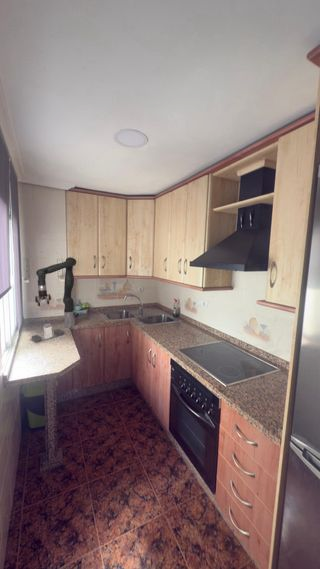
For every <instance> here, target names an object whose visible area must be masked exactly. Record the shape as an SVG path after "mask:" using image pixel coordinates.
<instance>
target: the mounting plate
mask: <svg viewBox="0 0 320 569" xmlns="http://www.w3.org/2000/svg"><path fill="white" fill-rule="evenodd" d="M66 336H67V335H66V333H65V331H64V330H61V329H60V328H57V329H54V330H53V332H52V337H49V338H46V337H44V334H43V335H41V336H40V335H38V334H35V335H32V336H31V338H29V341H30V342H31V343H33V344H35V345H36V346H37V345H40V344H43V343H46V342H50V341H54V340H57V339H60V338H63V337H66Z"/></svg>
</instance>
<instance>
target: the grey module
mask: <svg viewBox="0 0 320 569" xmlns="http://www.w3.org/2000/svg"><path fill="white" fill-rule="evenodd" d="M52 333H53V330H52V324H51V323H45V324H43V335H44V337H46V338H49V337H52Z"/></svg>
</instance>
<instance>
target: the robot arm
mask: <svg viewBox="0 0 320 569" xmlns="http://www.w3.org/2000/svg"><path fill="white" fill-rule="evenodd" d="M76 265H77V259H75V258H74V257H67V258H66V259H65V261H62V262H60V263H55V264H52V265H49V266H47V267H42V268H40V269H37V270H36V271H35V275H36V276H37V291H38V292H37V293H38V295H35V296H34V297H35V300H34V302H35V303H37V306H38V307H41V301H43V300H46V305H49V304H50V301H51V300H52V298H51V294H50V293H48V289H47V282H46V279H47V278H46V276H47V275H48V274H52V273H55V272H58V271H59V270H63V269H65V274H64V290H63V291H64V293H63V298H62V303H63V304H64V309H63V314H64V315H63V317H64V328H65V329H70V328H73V327H75V326H76V324H75V320H76V319H75V317H74V308H75V307H74V306H75V305H74V304H75V303H74V302H75V301H74V299H73V298H72V291H73V288H74V285H75V284H74V283H75V278H74V270H73V269H74V266H76Z"/></svg>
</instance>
